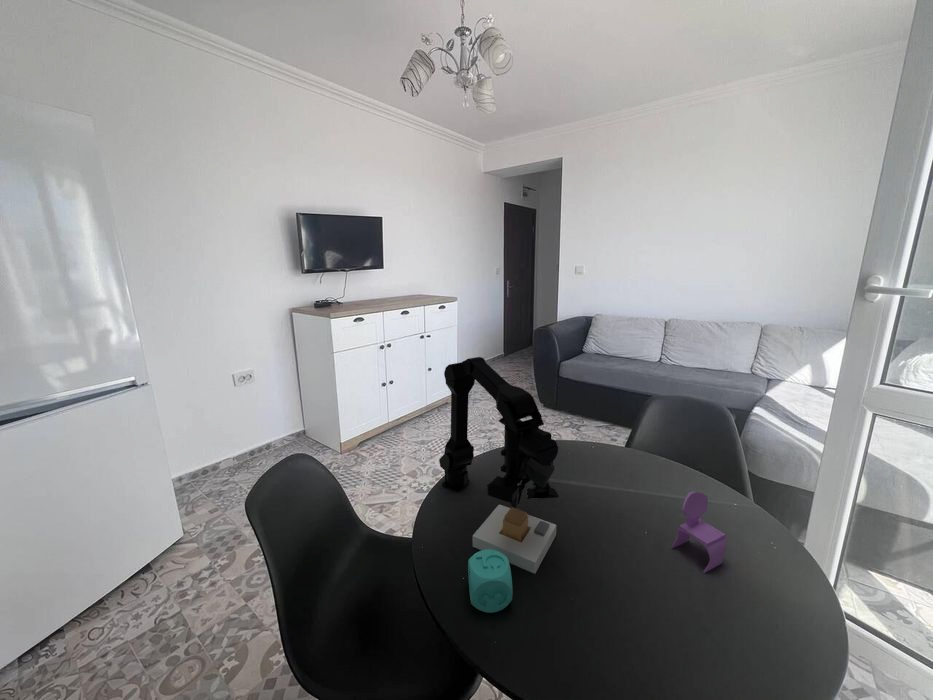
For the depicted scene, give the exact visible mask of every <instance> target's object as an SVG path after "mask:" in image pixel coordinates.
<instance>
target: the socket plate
mask: <svg viewBox="0 0 933 700" xmlns="http://www.w3.org/2000/svg"><path fill="white" fill-rule="evenodd" d="M510 509H511V507H508V506H505V505H501V504H498V505H497V506H496V508H494V510H493V511H492V512H491V513H490V514H489V516H488V517H487V518H486V519H485V521H484V522H483V523H482V524H481V525H480V527H478V529H477V530H476V531H475V532H474V533H473V535H472V548H476V549H477V550H479V551H481V550H486V549H492V550H496V551H499V552H500V553H502V554H504V555H505V556H506V557H507V558H508V561H509V564H511V565H514V566H516V567H518V568H520V569H523V570H525V571H527V572H529V573H532V574H534V575H536V573H537V572H538V570H539V567H540V566H541V563H542V562H543V560H544V558H545V557H546V554H547V553H548V551H549V549H550V547H551V546H552V543H553V542H554V539H555V538H556V537H557V526H558V525H557V524H555V523H552V522H550V521H546V520H544V519H541V518H538V517H536V516H533V515H530V514H527V515H528V534H527V535H526V537H525V538H524V540H523V541H522V543H521V542H519V541H517V540H514V539H512V538H509V537H507V536H504V535H503V519H504V518H505V515H506V514H507V512H508V511H509V510H510Z"/></svg>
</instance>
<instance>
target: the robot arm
mask: <svg viewBox="0 0 933 700" xmlns="http://www.w3.org/2000/svg"><path fill="white" fill-rule="evenodd" d="M444 369H445V370H444V373H443V375H444V380H445V384H446V386H447V387H448V389H449V391H450V395H451V396H450V437H449V438H448V441H447V442H446V443H445V445H444V453H443V455H441V457H440V458H439V459H438V462H439V466H440V468H441V469H442V470H443V471H444V481H443V482H442V483H441V486H442V487H445V488H447V489H450V490H453V491H456V492H460V491H462V489H464V488H465V487H466V486H467V485H468V484H469V483H470V482H471V480H470V479H469V471H468V467H467V466H472V462H473V459H474V458H475V454H474V451H475V447H474V445H472V443H471V442H470V441H469V439H468V429H469V427H468V424H469V393H470V392H471V390H472V389H473V387H474V385H475V382H478V384H479V385H480V386H481V387H482V388H483V389H484V390H485V391H486V392H487V393H488V394H489V395H490V396H491V397H492V398H493V399H494V401H495V404H496V405H495V407H496V410H497V411H498V412H499V413H500V415H501V416H502V417H501V418H500V419H498V422H499V423H500V424H502V425H504V439H503V440H504V444H503V445H504V448H503V449H502V450H501V451H500V456H503V457H504V458H503V461H504V462H503V463H504V464H503V465H502V466H501V467H500V472H502V473H505V475H504V476H503V477H502V476H499V475H496V476H495V477H493V478H492V480H491V481H490V482H489V483H488V484H486V494H487V496H489V497H491V498H494V499H496V500H497V499H498V500H500V501H503V502H506V503H509V504H510V505H511V507H513V508H516V509H517V507H518V505H520V504H521V503H520V502H521V500H522V497H523V494H524V492H525V491H524V488H527V487H526V484H528V483H530V481H531V482H535V483H536V484H537V485H538V486H539V487H545V485H546V484H547V482H549V481H550V479H551V477H552V475H553V473H554V471H555V466H556V465H554V461H555V459H556V458H557V456H558V452H559V446H558V442H557V441H556V440H554V439H553V438H552V433H550V432H549V431H547V430H543V429H542V428H540V427H541V426H544V425H545V424H544V420H543V418H542V417H543V416H542V414H541V412H540V410H539V408H538V405H537V404H536V401H535V398H534V397H533V395H532V394H531V393H530V392H529V391H527V390H526V389H524V388H522V387H520V386H515V385H513V384H510V383H509V382H507V380H505V379H504V378H503V377H502V376H501V375H500V374H499V373H498V372H497V371H496V370H494V369H493V368H492V367H491V366H490V364H488V363H487V362H486V359H485V358H484V357H481V356H477V357H470V358H467V359H465V360H463V361H462V362H455V363H449V364H448V365H447V366H445V368H444ZM529 417H531V418H530V419H526V420H522V419H525V418H529Z"/></svg>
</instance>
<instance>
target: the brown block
mask: <svg viewBox="0 0 933 700" xmlns="http://www.w3.org/2000/svg"><path fill="white" fill-rule="evenodd" d="M510 508H511V509H510V510H509V511H508V512H507V514H506V515H505V518H504V519H503V535H504V536H507V537H509V538H512V539H514V540H517V541H519V542H521V543H522V541H523V540H524V538H525V537H526V535H527V534H528V515H529V514H527V512H526V511H524V510H521V509H518V508H517V507H516V508H514V507H512V506H511V507H510Z"/></svg>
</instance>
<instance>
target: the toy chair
mask: <svg viewBox="0 0 933 700" xmlns="http://www.w3.org/2000/svg"><path fill="white" fill-rule="evenodd" d="M708 500H709V499H708V496H707V494H705V493H704V492H700V491H690V492H688V493H687V495H686V496H685V499H684V502H683V504H682V509H681V511H682V513H683V515H685V517H686V521H685V523H682V524H680V525H679V528H677V531H676V538H675V539H674V542H673V543H672V545H670V549H672V550H673V549H674V548H677V547H679V546H681V545H683V544H684V543H687V542H689V541H690V537H692V538H693V539H694V540H696V541H697V542H698V543H699V544H701V545H702V546H703V547H705V550H706V551H707V553H708V556H709V561H708V564H707V566H706V567H705V568H704V570H703V571H702V573H704V574H705V573H708V572H709V571H711V570H712V569H715V568H717V567H718V566H720V565H721V564H723V560H724V555H725V552H726V548H727V539H726V533H724V532H723V531H720V530H719V529H717V528H715V527H713V526H712V525H711V524H709V523H707V522H706V521H704V520H703V519H702V518H700V517H701V516H703V515H704V514H705V513H706V512H707V509H708V508H707V507H708Z"/></svg>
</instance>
